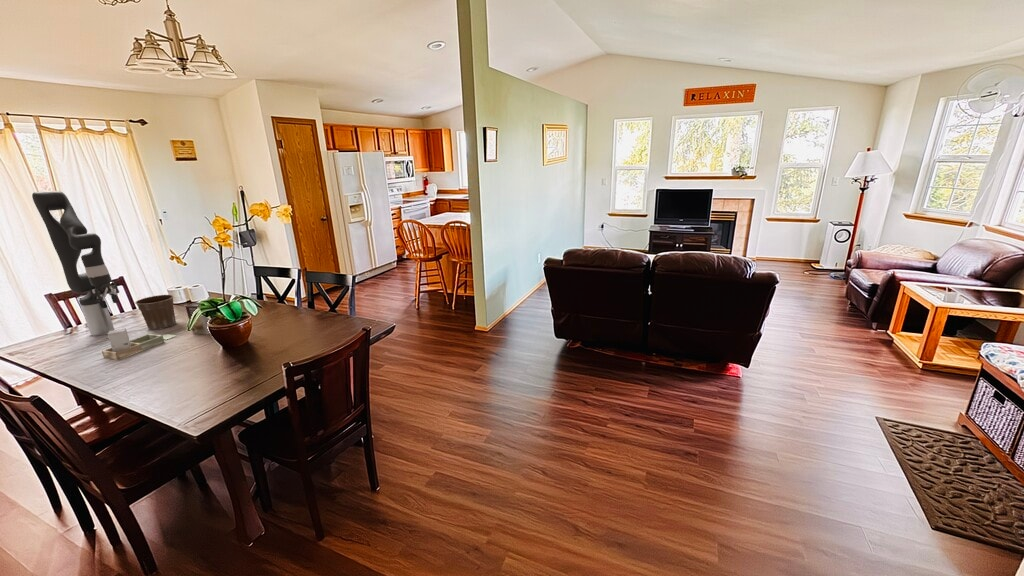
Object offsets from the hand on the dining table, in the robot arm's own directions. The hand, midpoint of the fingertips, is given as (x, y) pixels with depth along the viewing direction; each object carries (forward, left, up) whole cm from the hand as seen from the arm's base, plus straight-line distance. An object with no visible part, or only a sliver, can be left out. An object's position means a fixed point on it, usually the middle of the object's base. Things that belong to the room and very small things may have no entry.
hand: (110, 305), depth 201 cm
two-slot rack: (+17, -6, -20) cm, 27 cm away
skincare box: (+17, -10, -20) cm, 29 cm away
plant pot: (-2, +21, -20) cm, 29 cm away
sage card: (+17, +9, -20) cm, 28 cm away
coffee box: (+30, +20, -20) cm, 41 cm away
